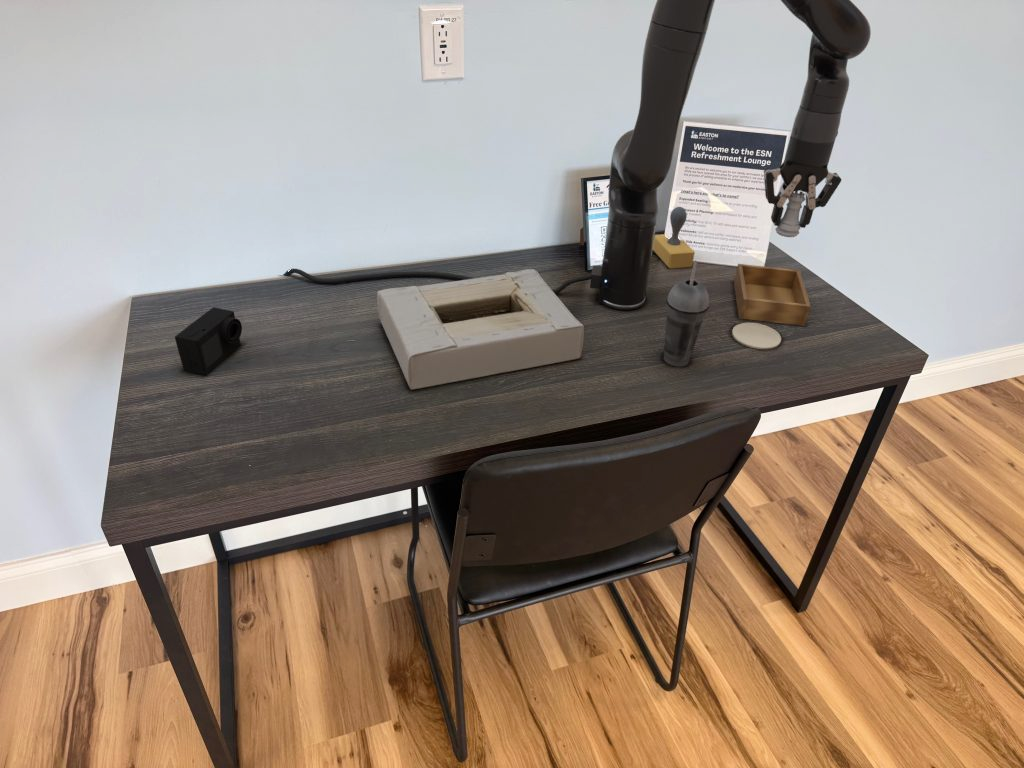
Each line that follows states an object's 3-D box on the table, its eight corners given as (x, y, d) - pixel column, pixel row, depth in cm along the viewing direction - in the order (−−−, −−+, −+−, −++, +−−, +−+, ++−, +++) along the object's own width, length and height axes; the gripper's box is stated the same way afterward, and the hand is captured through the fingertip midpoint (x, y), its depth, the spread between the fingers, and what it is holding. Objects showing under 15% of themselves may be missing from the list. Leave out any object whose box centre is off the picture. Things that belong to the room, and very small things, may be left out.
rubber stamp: (651, 249, 169) (659, 199, 162) (674, 247, 170) (683, 198, 163) (668, 268, 161) (677, 217, 154) (692, 266, 162) (702, 215, 155)
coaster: (733, 346, 136) (734, 344, 135) (730, 321, 143) (730, 320, 143) (783, 352, 135) (784, 350, 134) (777, 327, 142) (778, 325, 142)
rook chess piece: (798, 239, 138) (809, 199, 133) (773, 235, 139) (784, 195, 134) (799, 230, 141) (810, 190, 137) (775, 226, 143) (785, 187, 138)
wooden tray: (738, 318, 144) (743, 298, 142) (733, 282, 157) (738, 263, 154) (804, 326, 142) (811, 306, 140) (794, 288, 155) (799, 270, 152)
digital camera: (211, 377, 122) (202, 342, 118) (183, 371, 123) (173, 336, 119) (247, 346, 130) (240, 311, 126) (220, 340, 132) (212, 306, 127)
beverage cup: (699, 353, 133) (721, 252, 122) (694, 374, 128) (716, 271, 116) (659, 345, 135) (677, 245, 123) (652, 365, 129) (670, 263, 118)
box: (533, 298, 148) (377, 322, 138) (536, 264, 144) (374, 286, 133) (583, 360, 131) (409, 393, 121) (588, 324, 126) (407, 354, 116)
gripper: (848, 130, 132) (821, 220, 142) (768, 125, 133) (747, 214, 143) (860, 143, 126) (831, 236, 136) (776, 138, 127) (754, 230, 137)
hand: (788, 224), depth 139 cm, fingers closed on rook chess piece, 4 cm apart
